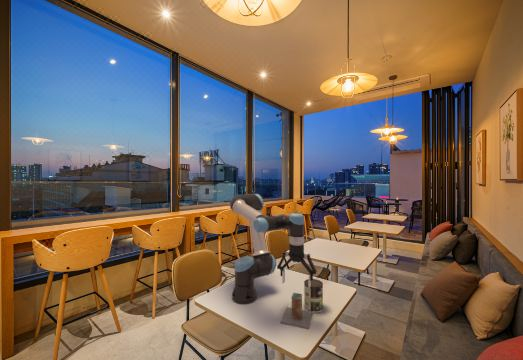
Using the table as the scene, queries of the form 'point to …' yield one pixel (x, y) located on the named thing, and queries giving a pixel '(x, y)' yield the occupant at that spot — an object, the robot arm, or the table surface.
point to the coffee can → (313, 296)
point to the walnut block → (296, 306)
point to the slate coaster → (296, 322)
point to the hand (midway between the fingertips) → (296, 284)
